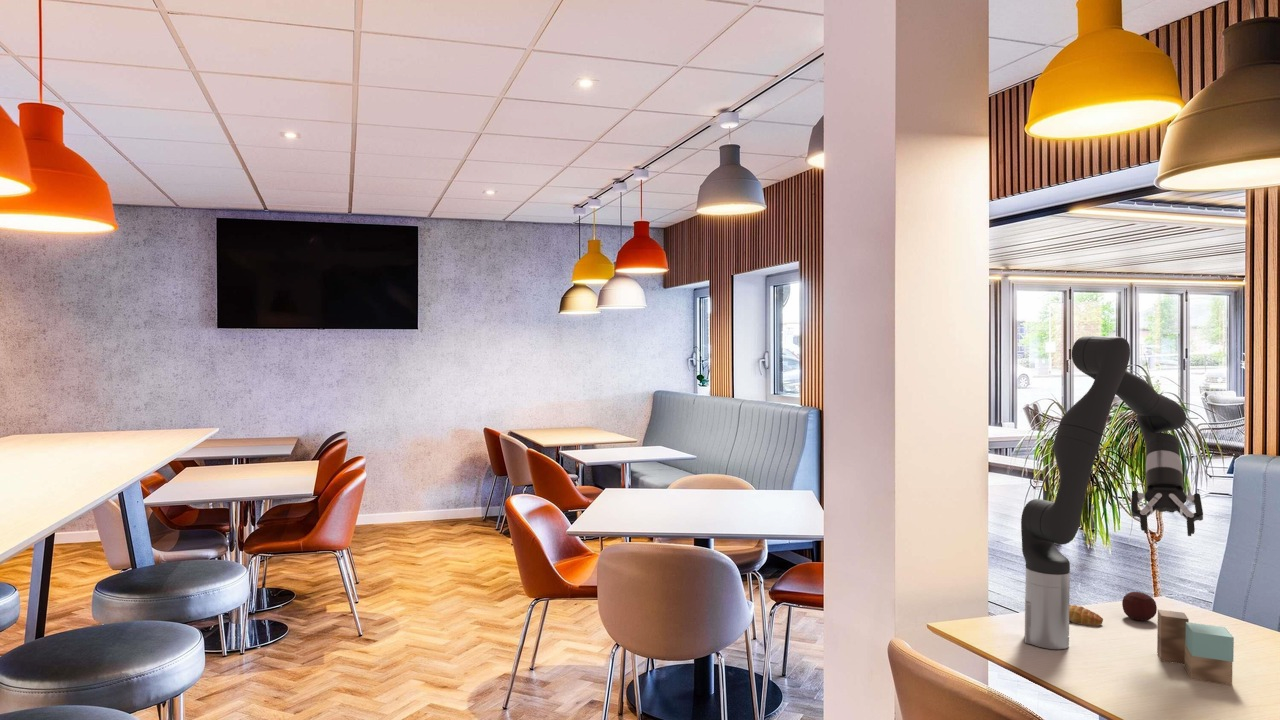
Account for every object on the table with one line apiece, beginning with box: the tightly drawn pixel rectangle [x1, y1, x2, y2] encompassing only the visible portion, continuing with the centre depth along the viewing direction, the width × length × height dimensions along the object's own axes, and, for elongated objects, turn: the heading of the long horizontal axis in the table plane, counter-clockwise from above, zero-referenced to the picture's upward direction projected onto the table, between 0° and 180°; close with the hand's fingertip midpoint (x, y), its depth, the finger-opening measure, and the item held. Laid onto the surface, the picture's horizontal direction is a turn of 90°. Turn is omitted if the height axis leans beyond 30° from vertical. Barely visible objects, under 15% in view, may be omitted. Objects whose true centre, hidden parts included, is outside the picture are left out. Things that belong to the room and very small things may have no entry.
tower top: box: [1185, 622, 1235, 663], centre depth 165 cm, size 7×7×5 cm
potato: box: [1121, 591, 1158, 622], centre depth 201 cm, size 7×8×7 cm
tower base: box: [1183, 645, 1233, 686], centre depth 165 cm, size 7×7×5 cm
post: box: [1156, 608, 1190, 665], centre depth 174 cm, size 5×5×10 cm
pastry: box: [1069, 604, 1104, 627], centre depth 199 cm, size 9×7×4 cm
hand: (1167, 533), depth 184 cm, fingers open, 8 cm apart
